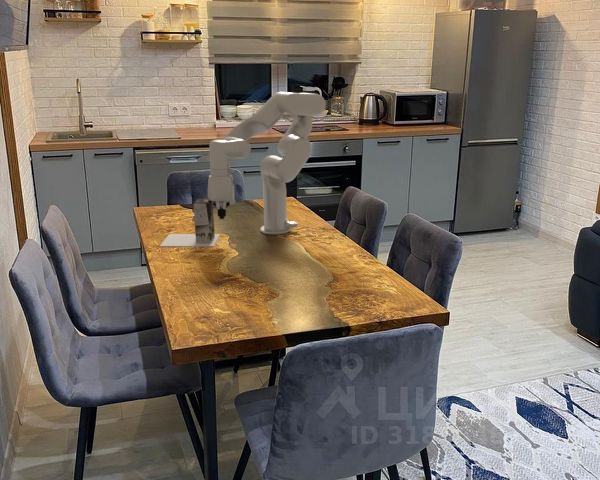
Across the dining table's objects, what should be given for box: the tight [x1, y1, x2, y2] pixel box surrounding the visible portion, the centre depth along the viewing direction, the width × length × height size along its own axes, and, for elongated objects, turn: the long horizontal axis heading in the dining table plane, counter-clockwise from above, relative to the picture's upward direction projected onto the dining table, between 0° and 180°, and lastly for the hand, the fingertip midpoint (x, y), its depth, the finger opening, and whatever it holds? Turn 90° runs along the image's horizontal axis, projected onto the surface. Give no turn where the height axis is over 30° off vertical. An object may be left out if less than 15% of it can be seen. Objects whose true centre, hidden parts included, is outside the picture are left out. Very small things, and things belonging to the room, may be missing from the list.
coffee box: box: [193, 197, 216, 243], centre depth 234 cm, size 9×6×16 cm
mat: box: [159, 233, 221, 248], centre depth 237 cm, size 21×16×1 cm
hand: (222, 218), depth 234 cm, fingers closed
